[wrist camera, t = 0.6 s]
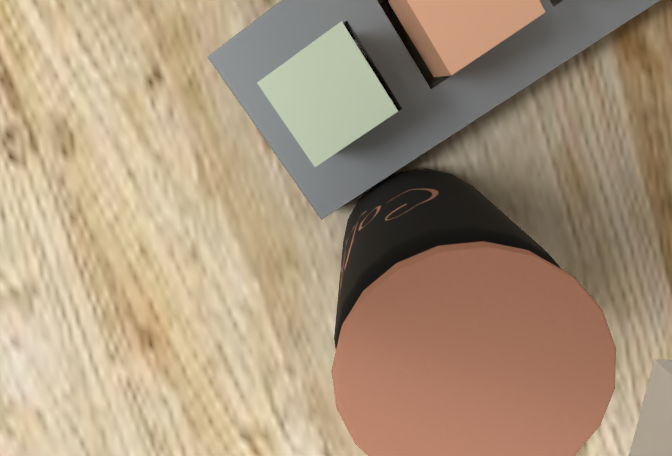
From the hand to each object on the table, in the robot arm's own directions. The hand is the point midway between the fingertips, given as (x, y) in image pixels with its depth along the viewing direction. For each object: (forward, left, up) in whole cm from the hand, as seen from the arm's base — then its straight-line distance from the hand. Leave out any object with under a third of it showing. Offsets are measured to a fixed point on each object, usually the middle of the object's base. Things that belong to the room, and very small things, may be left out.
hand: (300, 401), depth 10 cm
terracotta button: (-5, +11, -24) cm, 26 cm away
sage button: (-5, +3, -24) cm, 24 cm away
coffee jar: (+7, +2, -27) cm, 28 cm away
